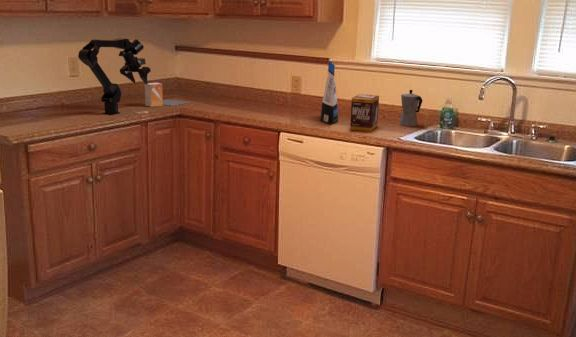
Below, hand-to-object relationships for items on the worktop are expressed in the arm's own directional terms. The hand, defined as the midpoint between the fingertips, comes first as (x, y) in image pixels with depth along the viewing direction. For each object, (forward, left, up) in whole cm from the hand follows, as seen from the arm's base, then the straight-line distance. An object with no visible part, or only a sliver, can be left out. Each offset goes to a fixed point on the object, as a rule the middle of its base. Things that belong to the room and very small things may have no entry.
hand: (140, 83), depth 337 cm
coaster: (-12, -11, -14) cm, 21 cm away
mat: (+23, 0, -14) cm, 27 cm away
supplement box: (+24, -127, -14) cm, 130 cm away
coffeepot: (+44, -144, -14) cm, 151 cm away
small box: (+10, 0, -14) cm, 17 cm away
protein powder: (+31, -104, -14) cm, 110 cm away
